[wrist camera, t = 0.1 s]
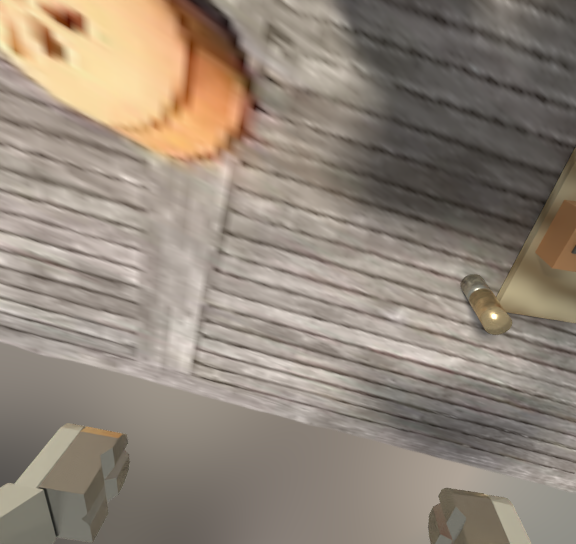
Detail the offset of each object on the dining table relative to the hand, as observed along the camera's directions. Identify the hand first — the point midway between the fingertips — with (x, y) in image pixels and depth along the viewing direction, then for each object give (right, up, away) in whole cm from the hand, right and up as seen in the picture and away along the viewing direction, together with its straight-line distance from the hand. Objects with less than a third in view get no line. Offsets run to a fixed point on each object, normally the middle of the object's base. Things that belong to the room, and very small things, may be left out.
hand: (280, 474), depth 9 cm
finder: (+34, +10, +34) cm, 49 cm away
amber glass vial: (+26, +4, +40) cm, 48 cm away
